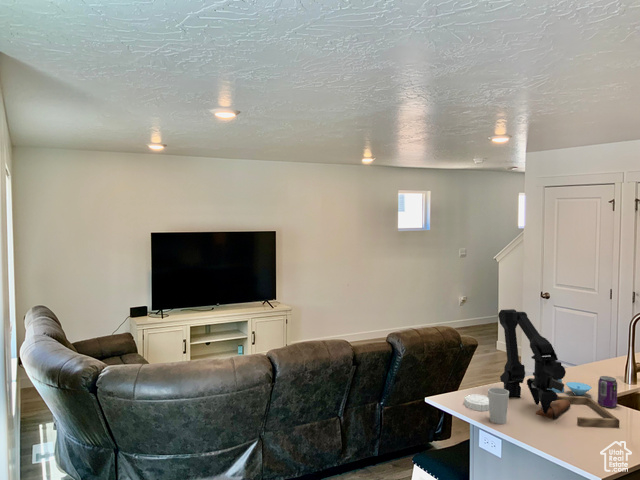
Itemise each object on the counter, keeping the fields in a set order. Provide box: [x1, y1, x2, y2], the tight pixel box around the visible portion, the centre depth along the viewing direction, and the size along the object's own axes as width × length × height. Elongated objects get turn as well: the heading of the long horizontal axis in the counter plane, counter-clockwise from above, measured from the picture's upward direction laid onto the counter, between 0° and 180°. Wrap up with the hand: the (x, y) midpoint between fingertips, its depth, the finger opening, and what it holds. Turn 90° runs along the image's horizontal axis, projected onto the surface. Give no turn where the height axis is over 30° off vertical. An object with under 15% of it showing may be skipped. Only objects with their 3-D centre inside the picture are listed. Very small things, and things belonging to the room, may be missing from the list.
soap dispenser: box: [547, 378, 592, 397], centre depth 220 cm, size 18×10×9 cm, turn 53°
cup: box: [487, 387, 509, 425], centre depth 189 cm, size 8×8×12 cm
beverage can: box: [597, 375, 618, 409], centre depth 206 cm, size 7×7×12 cm
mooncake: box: [463, 393, 489, 412], centre depth 205 cm, size 12×12×4 cm
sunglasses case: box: [534, 400, 571, 420], centre depth 199 cm, size 18×7×7 cm, turn 135°
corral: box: [555, 395, 620, 429], centre depth 196 cm, size 15×25×3 cm, turn 175°
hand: (541, 408), depth 197 cm, fingers open, 9 cm apart
